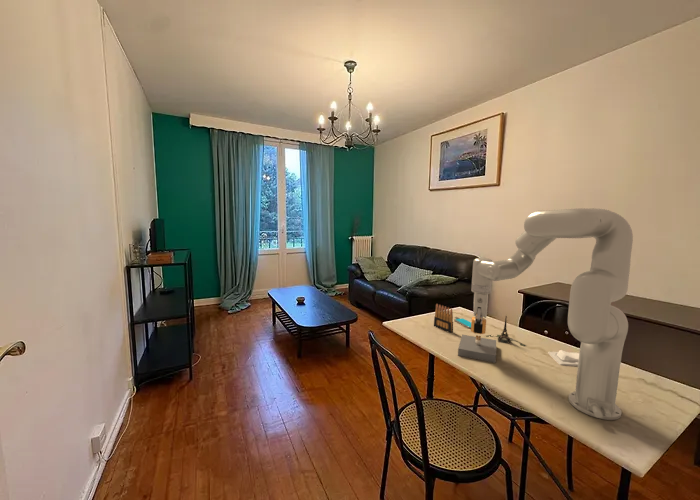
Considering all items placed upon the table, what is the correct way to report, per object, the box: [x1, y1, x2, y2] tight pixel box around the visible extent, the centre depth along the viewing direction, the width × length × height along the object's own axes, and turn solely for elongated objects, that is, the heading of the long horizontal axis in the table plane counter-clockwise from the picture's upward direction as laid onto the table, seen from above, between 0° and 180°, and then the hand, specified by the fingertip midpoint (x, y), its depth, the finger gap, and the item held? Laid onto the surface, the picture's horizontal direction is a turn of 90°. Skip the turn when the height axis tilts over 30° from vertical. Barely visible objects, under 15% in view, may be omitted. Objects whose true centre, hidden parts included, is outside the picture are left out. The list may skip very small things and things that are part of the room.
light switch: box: [547, 349, 580, 368], centre depth 123 cm, size 11×4×13 cm
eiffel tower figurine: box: [485, 315, 527, 347], centre depth 140 cm, size 15×10×13 cm
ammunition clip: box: [433, 303, 454, 334], centre depth 154 cm, size 11×2×12 cm, turn 33°
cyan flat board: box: [453, 316, 471, 329], centre depth 162 cm, size 20×12×2 cm, turn 18°
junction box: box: [457, 334, 497, 364], centre depth 130 cm, size 16×14×7 cm
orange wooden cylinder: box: [470, 316, 487, 335], centre depth 129 cm, size 6×6×5 cm
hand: (478, 329), depth 129 cm, fingers closed on orange wooden cylinder, 5 cm apart
